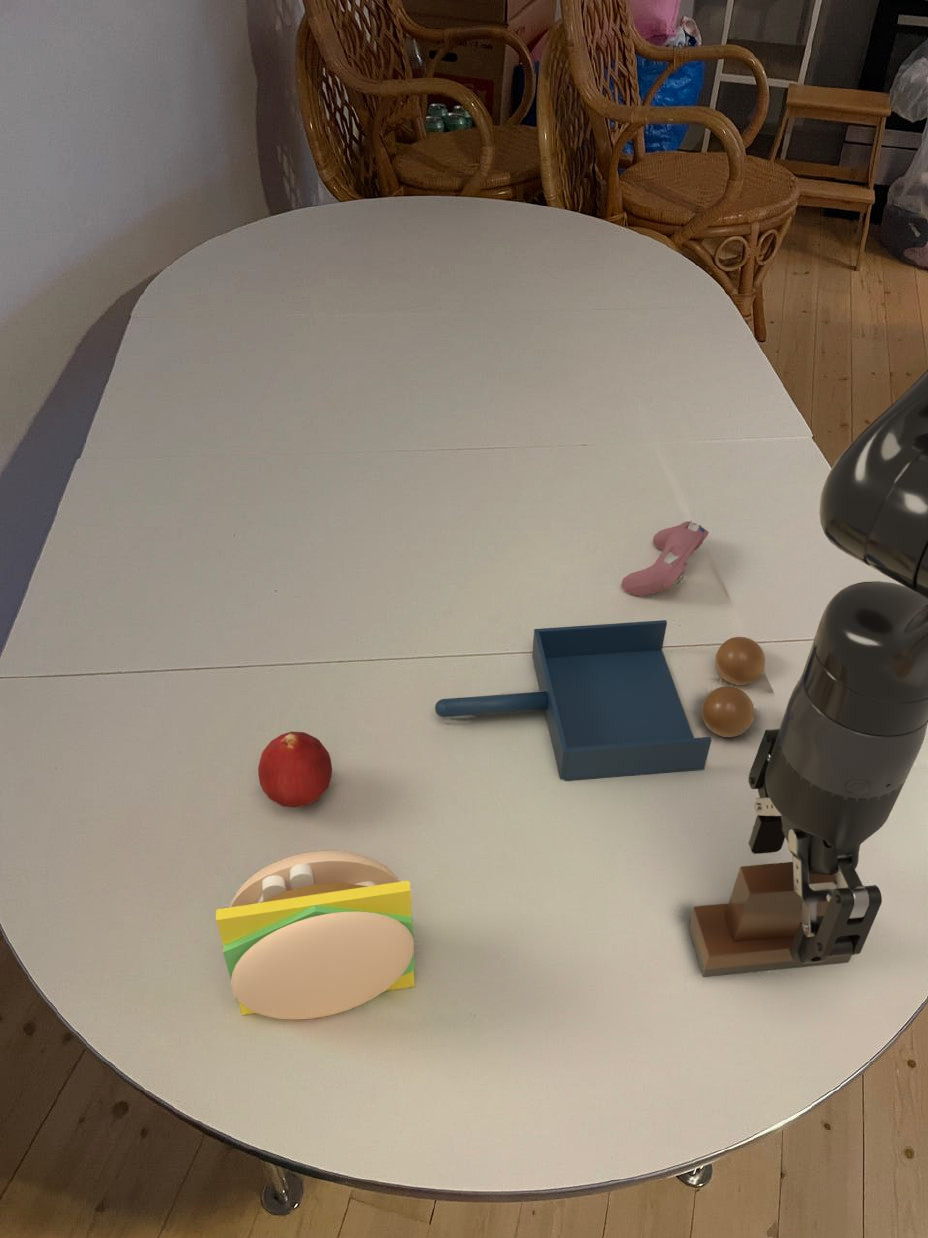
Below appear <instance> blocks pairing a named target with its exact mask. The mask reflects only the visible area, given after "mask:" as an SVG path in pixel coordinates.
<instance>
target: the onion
mask: <svg viewBox="0 0 928 1238" xmlns="http://www.w3.org/2000/svg"><path fill="white" fill-rule="evenodd" d="M260 754H261V755H260V758H259V763H258V766H257V771H258V773H257V774H258V779H259V784H260V788H261V789H262V791H263V793H264V794H265V795H266V796H267V798H268V799H269V800H270V801H272V802H274V803H276V804H278V805H280V806H282V807H288V808H298V807H299V808H300V807H306V806H309V805H310V804H312V803H314V802H317V801H318V800H319V799H320V798H321V797H322V796H323V795H324V794H325V792H326V791H327V790H328V789H329V786H330V783H331V780H332V777H333V776H332V775H333V766H332V759H331V755H330V752H329V751H328V750H327V748H326V747H325V746H324V744H323V743H322V742H321V741H320V740H319V738H317V737H315V736H313V735H311V734H309V733H307V732H304V731H288V732H285V733H282V734H280V735H278V736H277V737H275V738H273V739H272V740H270V742H269V743H268V744H267V745H266V746H265V748H264V749H263V750H262V753H260Z"/></svg>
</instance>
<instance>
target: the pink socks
mask: <svg viewBox="0 0 928 1238" xmlns="http://www.w3.org/2000/svg"><path fill="white" fill-rule="evenodd" d="M708 536H709V531H708V530H706V528H704V527H703V526H702V525H700V524H698V523H695V522H694V521H693V520H690V521H689V520H688V521H684V522H682V523H680V524H678V525H675V526H671V527H666V528H664V529H661V530H659V531H658V532H657V533H655V534H654V535H653V538H652V543H653V545H654V547H655V548H657V549H658V550H660V551H661V552H660V554H659V556H658V557H657V559H656V560H655V562H654V563H653V564H652V565H650V566H649V567H646V568H644V569H641V570H638V571H634V572H631V573H628V574H627V575H626V576H624V577H623V579H622V581H621V587H622V589H623V591H624V592H626V593H627V594H629V595H633V596H649V595H654V594H656V593H659V592H662V591H666V590H668V589H670V587H671V586H673V585H674V584H676V585H675V586H677V587H678V586H681V585H682V584H683V583H684V582H685V579H686V575H684V576H683V573H684V571H685V569H686V568H687V566H688V563H687V561H688V559H689V558H690V557H691V556H692V554H694V553H695V552H696V551H698V549H699V548H700V547H701V546H702V545H703V543H704V541H705V540H706V539H707V537H708Z"/></svg>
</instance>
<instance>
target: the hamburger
mask: <svg viewBox="0 0 928 1238" xmlns="http://www.w3.org/2000/svg"><path fill="white" fill-rule="evenodd" d="M412 914H413V913H412V889H411V884H410V880H409V879H408V880H402V881H400V879H399V877H398V876H397V875H396V874H395V873H394V872H393V871H392V870H391V868H389V867H388V866H386V865H385V864H383V863H381V862H379V861H378V860H376V859H374V858H372V857H368V856H366V855H364V854H359V853H355V852H351V851H343V850H317V851H316V850H315V851H308V852H303V853H298V854H295V855H291V856H288V857H285V858H281V859H279V860H277V861H274V862H272V863H270V864H269V865H267V866H265V867H264V868H262V869H260V870H258V871H257V872H255V873H254V874H253V875H251V876H250V877H249V878H248V879H247V880H246V881H245V882H244V883H243V884H242V885H241V887H240V888H239V889H237V891H236V893H235V894H234V897H233V898H232V900H231V902H230V904H229V907H225V908H217V909H215V922H216V925H217V928H218V929H217V930H218V932H219V936H220V940H221V943H222V953H223V957H224V960H225V964H226V967H227V971H228V975H229V978H230V984H231V989H232V993H233V995H234V997H235V1000H236V1001H237V1003H238V1005H239V1009H240V1013H241V1016H247V1015H253V1014H258V1015H261V1016H265V1017H267V1018H273V1019H277V1020H278V1019H279V1020H296V1021H297V1020H310V1019H316V1018H323V1017H327V1016H333V1015H336V1014H339V1013H342V1012H345V1011H348V1010H351V1009H354V1008H357V1007H359V1006H361V1005H363V1004H365V1003H367V1002H369V1001H371V1000H372V999H375V998H376V997H377V996H379V995H381V994H382V993H385V992H390V991H395V990H397V991H398V990H402V989H407V988H415V985H416V984H415V969H416V968H415V940H414V922H413V915H412Z"/></svg>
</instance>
